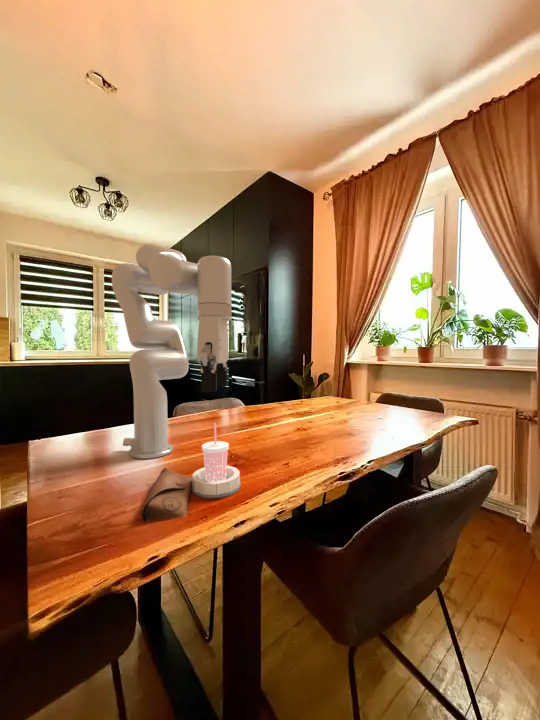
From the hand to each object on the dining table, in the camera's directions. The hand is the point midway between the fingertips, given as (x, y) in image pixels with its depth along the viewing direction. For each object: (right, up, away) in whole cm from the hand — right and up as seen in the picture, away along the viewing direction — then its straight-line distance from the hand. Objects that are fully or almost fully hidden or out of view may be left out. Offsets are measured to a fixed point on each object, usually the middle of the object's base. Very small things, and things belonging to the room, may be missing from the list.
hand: (215, 388), depth 68 cm
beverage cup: (0, -22, 0) cm, 22 cm away
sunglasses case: (-8, -23, -5) cm, 25 cm away
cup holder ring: (0, -22, 0) cm, 22 cm away
